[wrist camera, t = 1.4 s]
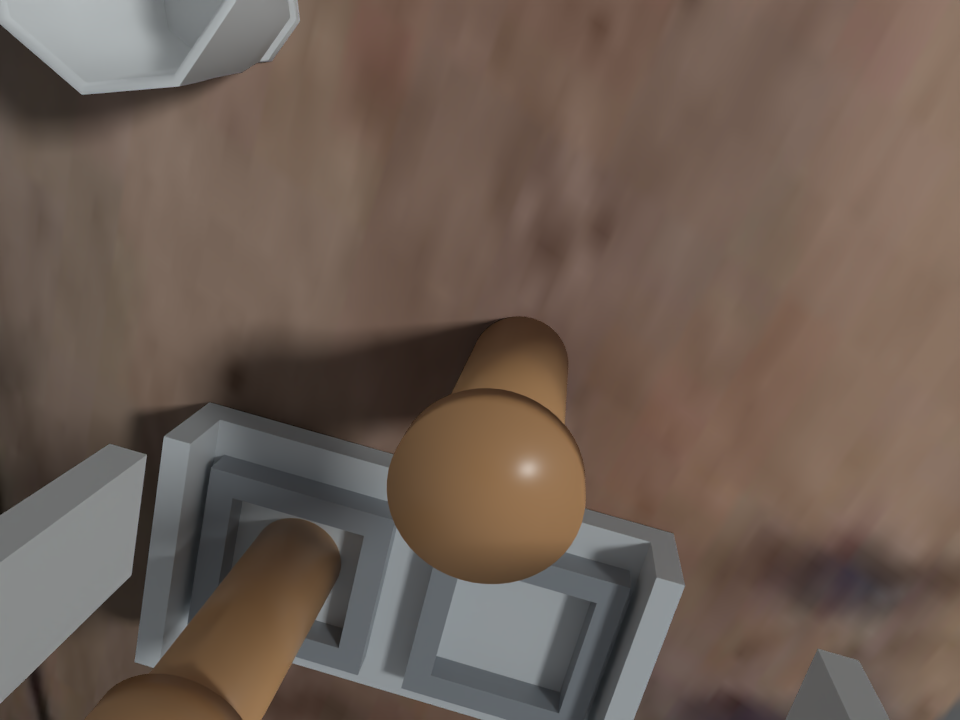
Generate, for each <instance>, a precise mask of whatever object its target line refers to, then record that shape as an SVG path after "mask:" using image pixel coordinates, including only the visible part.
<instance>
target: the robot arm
mask: <svg viewBox="0 0 960 720" xmlns="http://www.w3.org/2000/svg"><path fill="white" fill-rule="evenodd" d="M146 459H147V454H143V453H140V452H136V451H133V450H129V449H126V448H122V447H119V446H115V445H112V444H109V445H107V446H106V447H104V448H103V449H101V450H99V451H98V452H96V453H95V454H93V455H92V456H90V457H89V458H87V459H86V460H84V461H83V462H81V463H80V464H78V465H76V466H75V467H73V468H72V469H70V470H69V471H67V472H66V473H64V474H63V475H61V476H60V477H58V478H57V479H55V480H54V481H52V482H50V483H49V484H47V485H46V486H44V487H43V488H41V489H40V490H38V491H37V492H35V493H34V494H32V495H31V496H29V497H28V498H26V499H24V500H23V501H21V502H20V503H18V504H17V505H15V506H14V507H12V508H11V509H9V510H8V511H6V512H5V513H3V514H2V515H0V703H1V702H2V701H3V700H4V699H5V698H6V697H7V696H8V695H9V694H10V693H11V692H12V691H13V690H15V689H16V688H17V687H18V686H19V685H20V684H21V683H22V682H23V681H24V680H25V679H26V678H27V677H28V676H29V675H30V674H31V673H32V672H33V671H34V670H35V669H36V668H37V667H38V666H39V665H40V664H41V663H42V662H43V661H44V660H45V659H46V658H47V657H48V656H49V655H50V654H51V653H52V652H53V651H54V650H55V649H56V648H58V647H59V646H60V645H61V644H62V643H63V642H64V641H65V640H66V639H67V638H68V637H69V636H70V635H71V634H72V633H73V632H74V631H75V630H76V629H77V628H78V627H79V626H80V625H81V624H82V623H83V622H84V621H85V620H86V619H87V618H88V617H89V616H90V615H91V614H92V613H93V612H94V611H95V610H96V609H97V608H98V607H100V606H101V605H102V604H103V603H104V602H105V601H106V600H107V599H108V598H109V597H110V596H111V595H112V594H113V593H114V592H115V591H116V590H117V589H118V588H119V587H120V586H121V585H122V584H123V583H124V582H125V581H126V580H127V579H128V578H129V577H130V576H131V575H132V567H133V559H134V552H135V544H136V536H137V528H138V521H139V513H140V505H141V497H142V490H143V482H144V474H145V466H146ZM786 720H890V719H889V717H888V715H887V713H886V712H885V710H884V708H883V706H882V704H881V702H880V700H879V698H878V696H877V694H876V693H875V691H874V689H873V687H872V685H871V683H870V681H869V679H868V677H867V675H866V673H865V672H864V670H863V668H862V666H861V664H860V662H859V661H858V660H855V659H851V658H848V657H844V656H841V655H838V654H834V653H831V652H827V651H824V650H820V649H817V652H816V654H815V656H814V658H813V660H812V663H811V665H810V667H809V669H808V671H807V674H806V676H805V678H804V680H803V683H802V685H801V687H800V689H799V691H798V694H797V696H796V698H795V700H794V702H793V705H792V707H791V709H790V711H789V714H788V716H787V718H786Z"/></svg>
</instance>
